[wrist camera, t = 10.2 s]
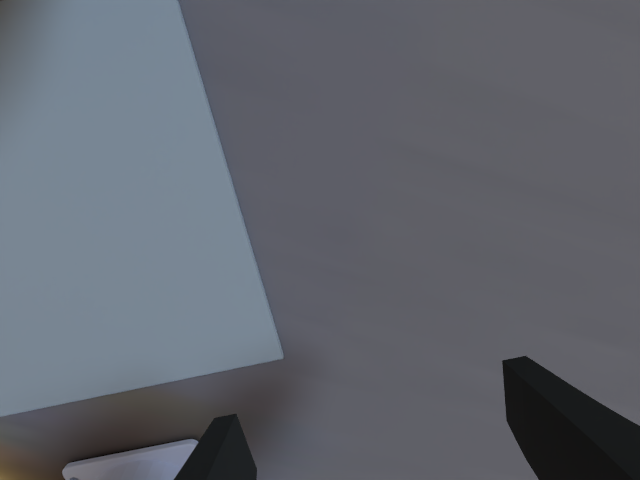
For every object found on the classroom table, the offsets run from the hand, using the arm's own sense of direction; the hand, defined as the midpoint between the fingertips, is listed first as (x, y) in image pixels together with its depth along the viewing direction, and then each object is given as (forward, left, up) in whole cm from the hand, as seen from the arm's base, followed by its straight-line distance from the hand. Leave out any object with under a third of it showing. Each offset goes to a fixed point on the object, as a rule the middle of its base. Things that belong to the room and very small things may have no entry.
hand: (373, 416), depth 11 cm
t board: (+5, +19, -9) cm, 22 cm away
